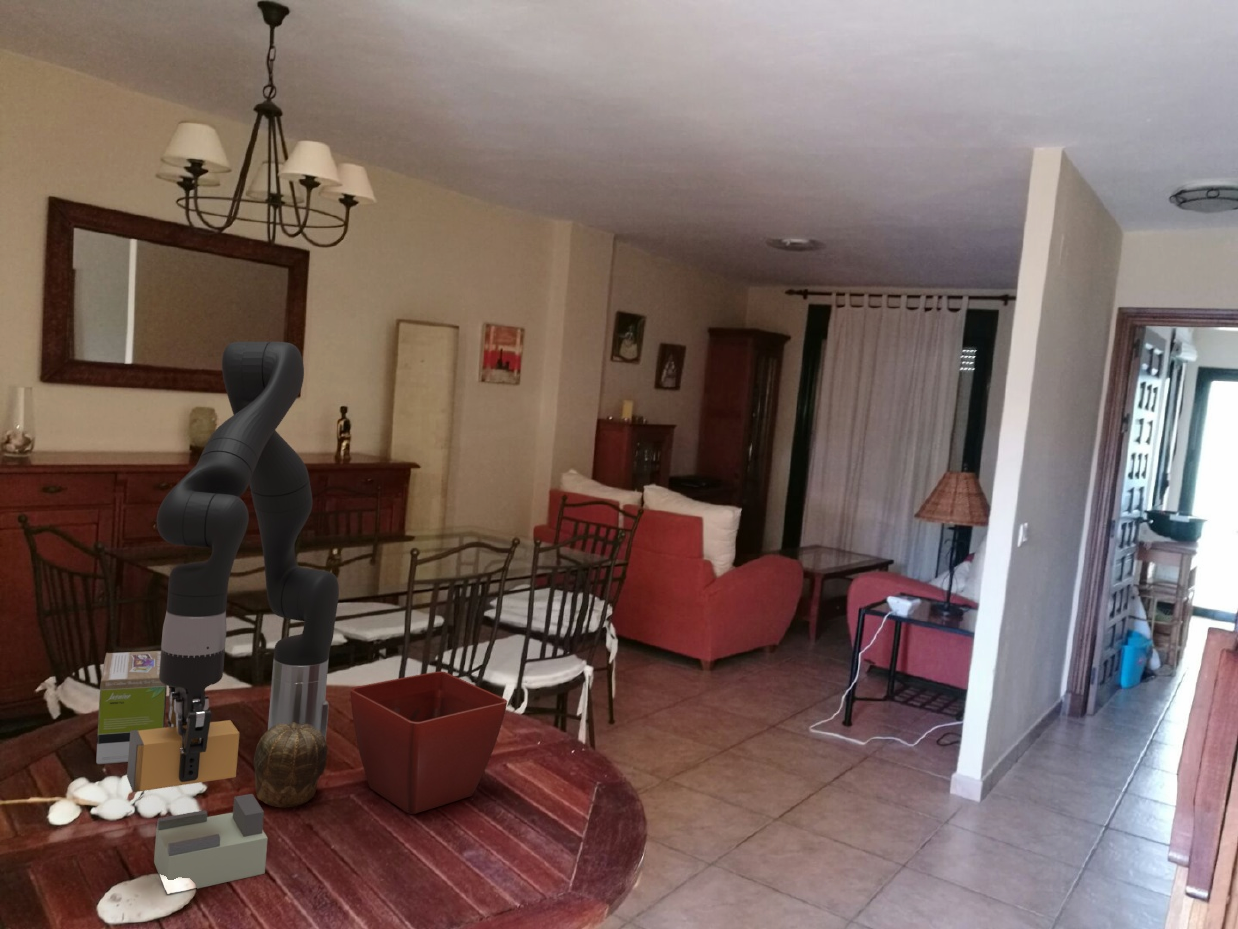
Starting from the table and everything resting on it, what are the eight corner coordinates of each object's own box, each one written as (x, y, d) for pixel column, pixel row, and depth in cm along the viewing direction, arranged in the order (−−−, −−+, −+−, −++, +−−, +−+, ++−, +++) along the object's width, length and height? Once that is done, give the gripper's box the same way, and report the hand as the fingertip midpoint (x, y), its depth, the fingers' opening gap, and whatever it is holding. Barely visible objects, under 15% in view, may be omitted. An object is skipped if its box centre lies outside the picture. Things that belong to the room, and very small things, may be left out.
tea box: (99, 731, 160) (105, 650, 159) (162, 727, 165) (168, 648, 164) (94, 766, 147) (100, 678, 146) (162, 760, 151) (169, 675, 150)
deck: (247, 843, 128) (251, 789, 127) (264, 873, 121) (269, 816, 120) (154, 862, 121) (158, 804, 120) (166, 895, 114) (171, 834, 113)
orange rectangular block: (226, 762, 123) (230, 719, 123) (235, 777, 119) (239, 732, 119) (126, 776, 116) (130, 730, 115) (133, 792, 112) (136, 745, 111)
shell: (254, 818, 135) (260, 741, 134) (247, 787, 145) (253, 715, 144) (328, 810, 140) (335, 735, 139) (317, 780, 150) (323, 711, 149)
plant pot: (338, 785, 149) (347, 686, 148) (433, 759, 163) (442, 669, 162) (403, 831, 136) (413, 723, 135) (500, 799, 150) (510, 701, 149)
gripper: (238, 658, 113) (227, 789, 114) (212, 628, 124) (202, 747, 125) (172, 663, 108) (162, 799, 109) (152, 632, 120) (142, 755, 121)
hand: (183, 771), depth 117 cm, fingers closed on orange rectangular block, 5 cm apart
